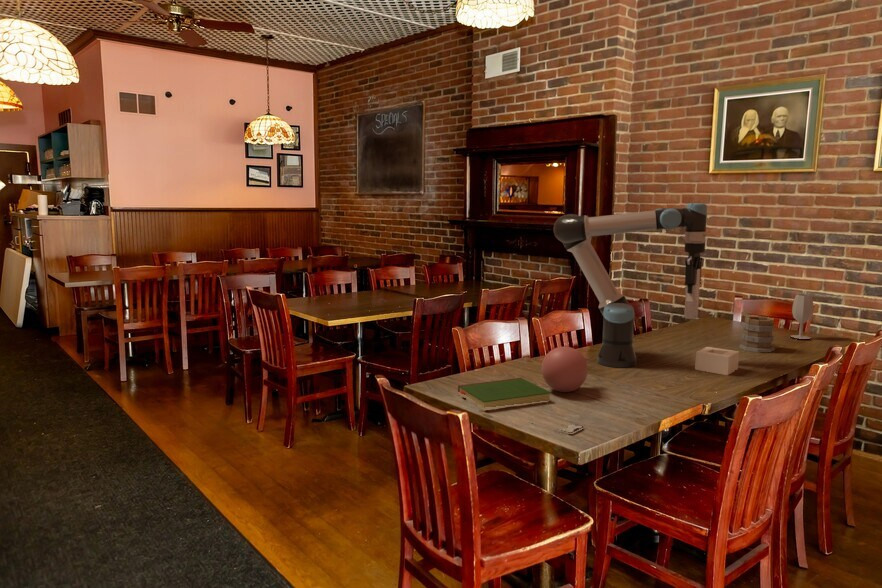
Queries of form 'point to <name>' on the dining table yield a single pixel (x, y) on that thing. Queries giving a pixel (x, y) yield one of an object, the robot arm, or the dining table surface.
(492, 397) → the hardcover book
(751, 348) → the tankard
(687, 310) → the steel bar
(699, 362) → the well block
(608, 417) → the dining table surface
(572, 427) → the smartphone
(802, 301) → the wineglass
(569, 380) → the matte pink sphere
